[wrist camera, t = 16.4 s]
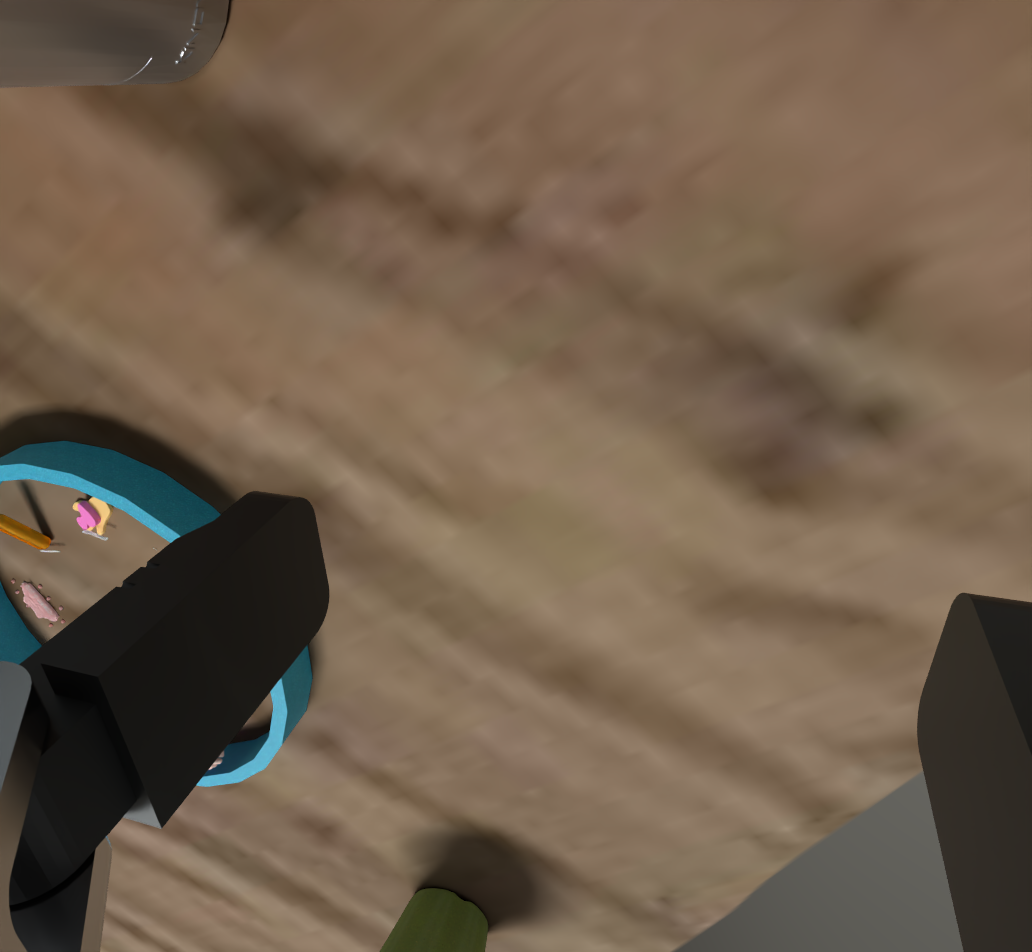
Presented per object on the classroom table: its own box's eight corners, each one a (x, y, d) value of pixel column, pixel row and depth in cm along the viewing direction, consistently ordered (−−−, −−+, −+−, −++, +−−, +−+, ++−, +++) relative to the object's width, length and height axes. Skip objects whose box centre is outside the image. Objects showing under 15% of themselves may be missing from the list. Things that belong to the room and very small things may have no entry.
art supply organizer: (156, 771, 68) (109, 826, 63) (-80, 517, 60) (-156, 558, 55) (389, 714, 54) (351, 779, 49) (124, 369, 45) (46, 406, 40)
